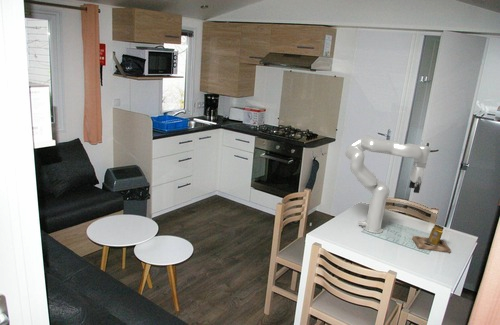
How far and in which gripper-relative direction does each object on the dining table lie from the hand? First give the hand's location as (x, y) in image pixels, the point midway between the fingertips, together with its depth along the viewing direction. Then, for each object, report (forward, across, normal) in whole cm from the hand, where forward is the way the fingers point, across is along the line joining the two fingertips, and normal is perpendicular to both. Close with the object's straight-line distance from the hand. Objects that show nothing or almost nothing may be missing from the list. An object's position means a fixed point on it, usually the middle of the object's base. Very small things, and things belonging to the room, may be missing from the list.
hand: (413, 190), depth 250 cm
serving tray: (+28, +19, +10) cm, 36 cm away
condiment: (+27, +20, +10) cm, 35 cm away
